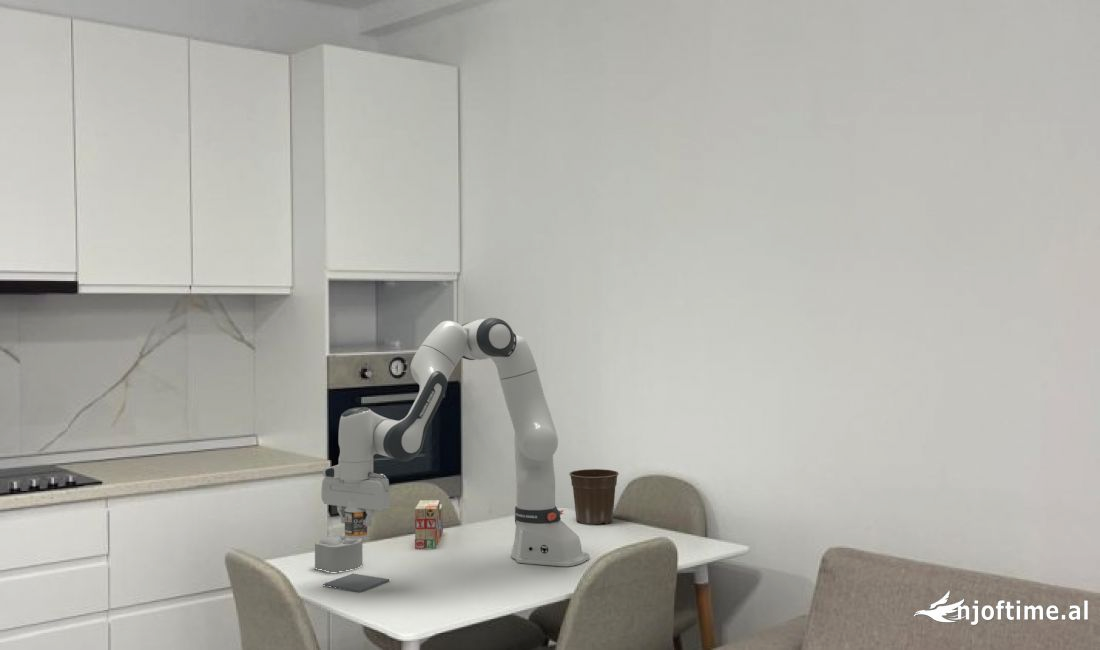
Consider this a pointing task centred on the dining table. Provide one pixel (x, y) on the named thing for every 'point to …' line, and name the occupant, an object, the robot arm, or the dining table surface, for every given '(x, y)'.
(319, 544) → the lumpy-topped squat cylinder
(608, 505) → the plant pot
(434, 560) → the dining table surface
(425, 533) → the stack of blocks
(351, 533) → the pill bottle
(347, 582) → the coaster
